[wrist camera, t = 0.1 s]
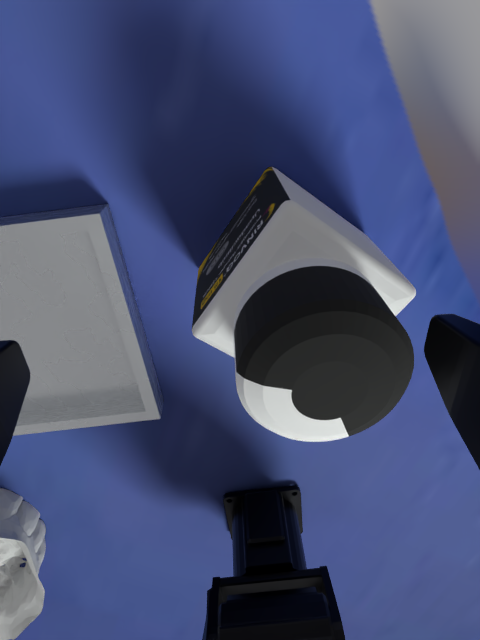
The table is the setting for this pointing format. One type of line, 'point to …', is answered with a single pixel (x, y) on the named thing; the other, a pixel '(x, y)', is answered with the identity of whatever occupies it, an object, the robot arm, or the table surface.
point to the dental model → (11, 580)
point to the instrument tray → (74, 322)
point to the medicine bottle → (305, 315)
